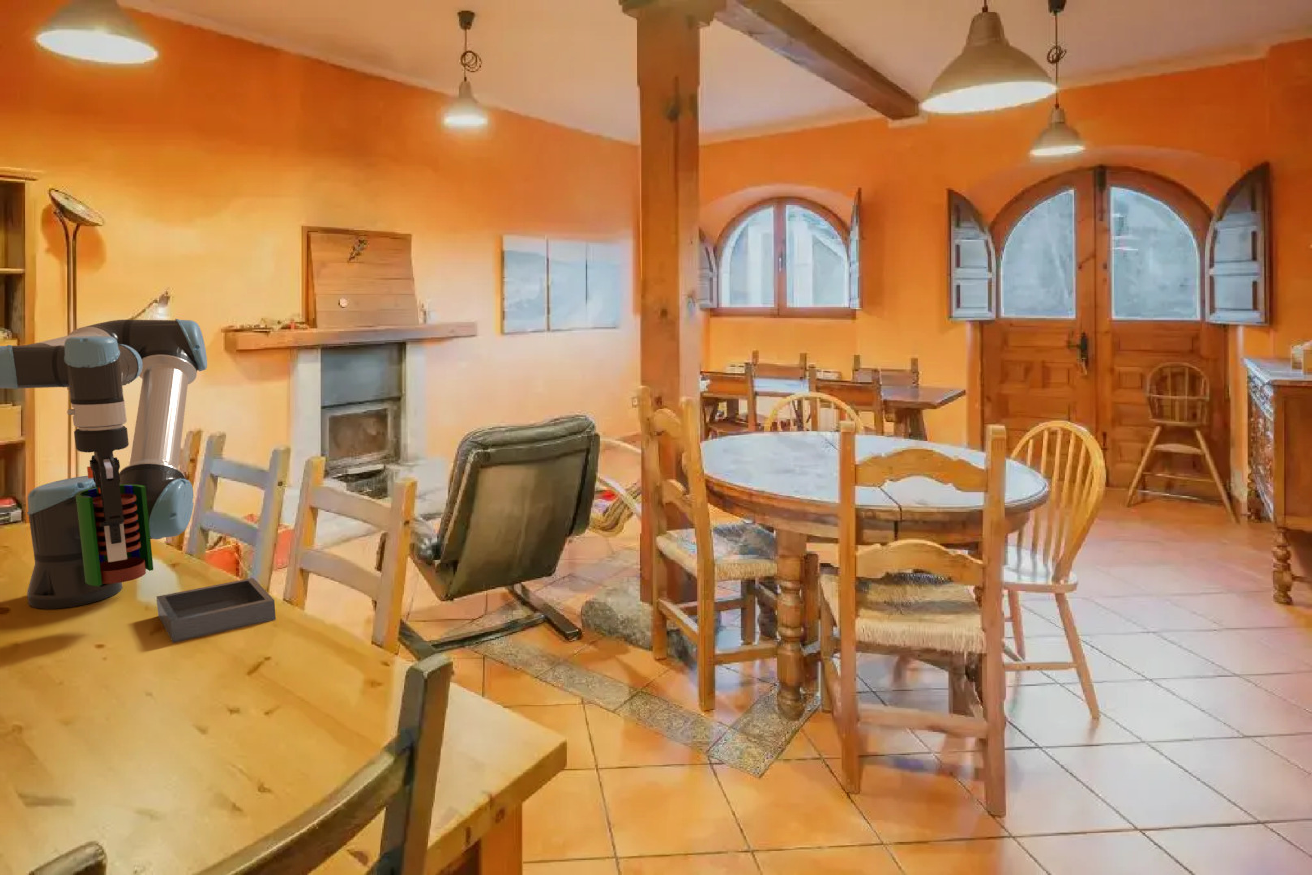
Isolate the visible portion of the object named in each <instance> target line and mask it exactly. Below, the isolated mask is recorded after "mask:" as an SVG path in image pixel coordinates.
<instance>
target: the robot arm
mask: <svg viewBox="0 0 1312 875" xmlns="http://www.w3.org/2000/svg"><path fill="white" fill-rule="evenodd" d="M205 345H206V344H205V341H204V337H203V333H202V330H201V327H200V325H199V324H198V323H197V322H196V321H194V320H191V319H179V318H175V320H174V319H173V320H172V319H167V320H166V319H115V320H109V321H104V322H99V323H95V324H91V325H86V326H82V327H78V328H75V329H74V330H72V331H71V332H70V333H69V334H68V335H66V336H61V337H57V338H52V339H47V340H43V341H39V342H36V343H35V342H34V343H29V344H25V345H22V344H21V345H12V344H7V345H0V389H13V390H18V389H37V388H38V389H40V388H41V389H43V388H44V389H45V388H46V389H47V388H68V390H69V392H68V393H69V398H70V404H71V408H70V409H67V412H66V414H67V415H69V416H72V415H73V416H72V421H73V426H74V427H75V428H76V429H75V430H74V431H73V435H74V442H75V449H76V451H78V452H79V453H80V452H81V453H89V454H90V453H93V455H92V456H91V458H90V460H89V467H91V470H92V472H93V478H88V475H84V476H75V477H70V478H64V479H60V480H56V481H52V482H49V483H44V484H42V485H39V486H36V487H35V488H33V489H31V491H29V492H28V494H27V509H28V510H27V513H26V514H27V515H28V521H29V529H30V535H31V543H32V550H33V556H34V565H33V569H32V573H31V576H30V581H29V585H28V588H27V593H26V594H27V603H28V605H29V606H30V607H32V608H36V609H42V610H44V609H45V610H46V609H48V610H50V609H52V610H53V609H64V608H74V607H77V606H84V605H88V604H91V603H95V602H96V603H97V602H98V601H99V602H100V601H102V600H106V599H109V598H110V597H112V596H113V597H114V596H115V595H117V594H118V593H119V592H121V591H122V590H123V582H120V583H110V584H103V583H102V585H100V586H92V585H88V584H87V583H86V582H85V574H84V565H83V556H82V547H81V538H80V529H79V520H78V511H77V502H76V493H78V492H80V491H83V490H86V489H91V488H96V487H97V492H98V496H101V498H102V505H103V512H104V519H105V521H104V522H103V523H100V527H103V526H104V531H105V539H106V548H107V557H108V562H113V561H119V560H125V559H127V553H126V544H125V535H124V526H123V522H124V520H125V519H124V517H123V509H122V501H121V493H120V485H128V484H130V485H142V486H145V488H146V498H147V508H148V519H149V529H150V539H151V540H161V539H163V538H173V537H174V538H175V537H177V536H180V535H181V534H182V533H183V532H184V531H186V529H187V528H188V525H189V524H190V521H191V518H192V514H193V511H194V510H193V509H194V502H193V500H194V488H193V485H192V482H191V481H190V480H189V479H186V475H185V474H184V472H183V471H182V470H180V469H179V463H180V454H181V446H182V437H183V428H184V421H185V412H186V411H185V410H186V403H187V394H188V393H187V392H188V386H189V385H190V384H192V383H193V382H194V381H195V380H196V378H197V376H198V375H197V373H198V371H199V372H202V371H205V370H207V369H208V357H207V351H206V346H205ZM138 377H139V378H141V379H142V381H141V382H142V383H141V387H140V394H139V400H138V407H137V414H136V420H135V425H134V426H135V427H134V433H133V434H134V435H133V440H132V448H131V454H130V461H129V465H126V466H125V467H123V468H122V469H121V470H120V468H121V464H120V460H119V459H118V457H114V451H120V450H123V449H126V448H128V447H129V435H128V428H127V427H126V426H125V425H124V424H126V423H127V413H126V402H125V398H124V389H123V386H127V385H130V383H132V382H133V381H135V380H137V378H138ZM99 479H100V480H99ZM98 487H99V488H100V491H101V494H100V493H99V490H98ZM111 516H114V517H111Z"/></svg>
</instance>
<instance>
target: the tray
mask: <svg viewBox="0 0 1312 875" xmlns="http://www.w3.org/2000/svg"><path fill="white" fill-rule="evenodd" d="M156 605H157V607H156V608H157V615H158V618H159V620H160V622H161V623H162V625H163V627H164V629H165V631H166V633H167V635H168V636H169V638H170V640H171V642H172V643H173V644H175V643H180V642H184V641H188V640H192V639H193V640H194V639H196V638H201V637H206V636H209V635H214V634H218V633H223V632H228V631H232V630H236V629H241V628H245V627H249V626H253V625H258V624H263V623H267V622H271V621H276V619H277V618H276V604H275V599H274V598H273V597H272V596H271V595H270V594H269V593H268V591H266V590H265V588H264V587H263V586H261V584H260V583H259V582H258V581H257V580H256V579H255V578H254V577H250V578H246V579H240V580H233V581H230V582H224V583H219V584H214V585H208V586H205V587H198V588H192V589H188V590H183V591H178V592H173V593H172V592H171V593H168V594H163V595H162V594H161V595H157V596H156Z"/></svg>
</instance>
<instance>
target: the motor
mask: <svg viewBox="0 0 1312 875" xmlns="http://www.w3.org/2000/svg"><path fill="white" fill-rule="evenodd" d="M86 470H87V472H86V473H87V476H88V478H93V472H92V470H91V467H90V466H86ZM99 480H100V479H99ZM98 490H99V493H100V494H101V491H100V488H99V487H98ZM120 493H121V501H122V509H123V517H124V519H125V520H124V522H123V526H124V535H125V544H126V553H127V559H125V560H119V561H113V562H108V557H107V548H106V539H105V531H104V526H103V527H100V523H103V522H104V521H105V519H104V512H103V505H102V498H101V496H98V492H97V487H96V488H91V489H86V490H83V491H80V492H78V493H76V502H77V511H78V520H79V529H80V538H81V547H82V556H83V565H84V574H85V582H86V583H87V584H88V585H92V586H100V585H102V583H103V584H110V583H120V582H122V583H124V582H125V583H126V582H129V581H134V580H137V579H140V578H141V577H143V576H145V575H146V573H147V571H146V570H148V571H154V561H153V552H152V542H151V541H152V539H150V529H149V519H148V508H147V498H146V488H145V486H142V485H130V484H128V485H120ZM111 517H114V516H111Z"/></svg>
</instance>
